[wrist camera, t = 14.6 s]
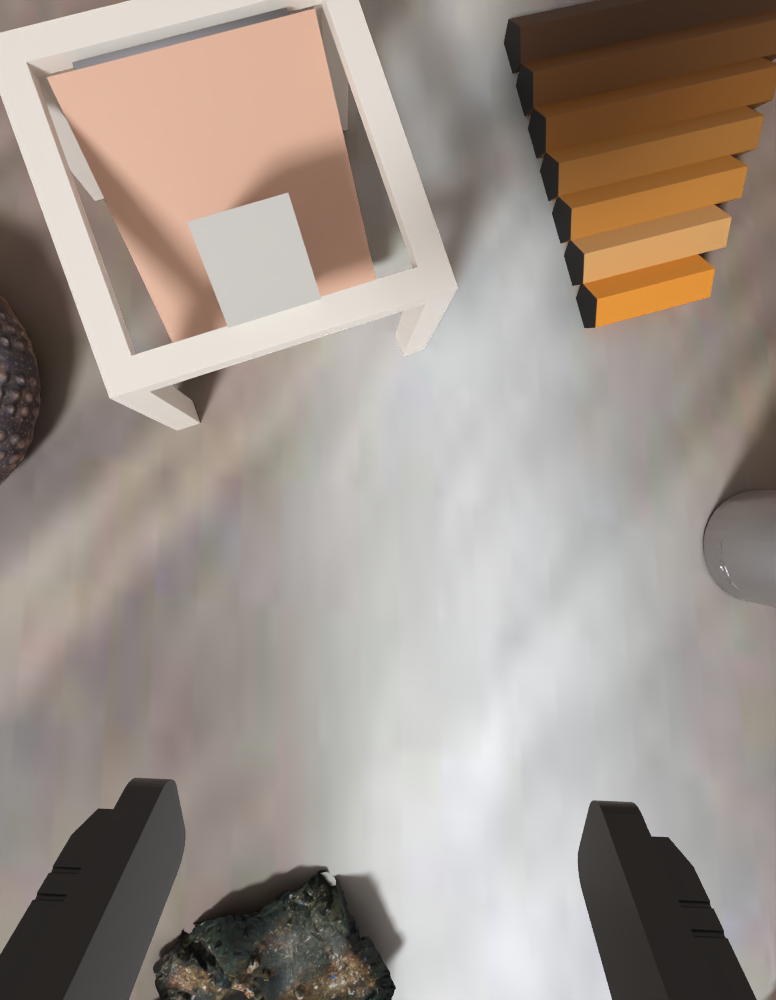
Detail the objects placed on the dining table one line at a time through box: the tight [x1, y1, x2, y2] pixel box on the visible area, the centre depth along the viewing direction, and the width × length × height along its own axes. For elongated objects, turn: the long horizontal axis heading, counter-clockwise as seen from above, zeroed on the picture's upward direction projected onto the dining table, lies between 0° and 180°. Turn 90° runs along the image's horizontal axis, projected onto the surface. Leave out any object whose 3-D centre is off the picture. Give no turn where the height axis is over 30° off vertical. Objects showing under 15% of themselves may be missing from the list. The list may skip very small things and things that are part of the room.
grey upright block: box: [187, 193, 321, 328], centre depth 31 cm, size 5×5×10 cm
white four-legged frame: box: [0, 0, 458, 431], centre depth 35 cm, size 20×20×12 cm
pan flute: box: [504, 0, 776, 328], centre depth 43 cm, size 25×3×25 cm
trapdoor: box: [47, 7, 376, 343], centre depth 34 cm, size 15×15×1 cm
